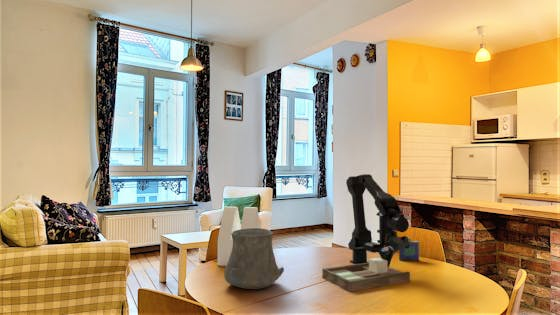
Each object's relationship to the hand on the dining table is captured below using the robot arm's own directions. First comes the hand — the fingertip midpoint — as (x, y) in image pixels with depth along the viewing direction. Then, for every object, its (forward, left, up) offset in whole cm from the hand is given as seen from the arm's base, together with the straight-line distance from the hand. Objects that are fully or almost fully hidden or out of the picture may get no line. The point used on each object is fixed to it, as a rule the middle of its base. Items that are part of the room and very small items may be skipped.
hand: (387, 267), depth 147 cm
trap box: (0, -11, -4) cm, 11 cm away
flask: (-15, +26, -4) cm, 31 cm away
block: (0, -5, -1) cm, 5 cm away
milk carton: (-47, -46, -4) cm, 66 cm away
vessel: (-11, -53, -4) cm, 54 cm away
